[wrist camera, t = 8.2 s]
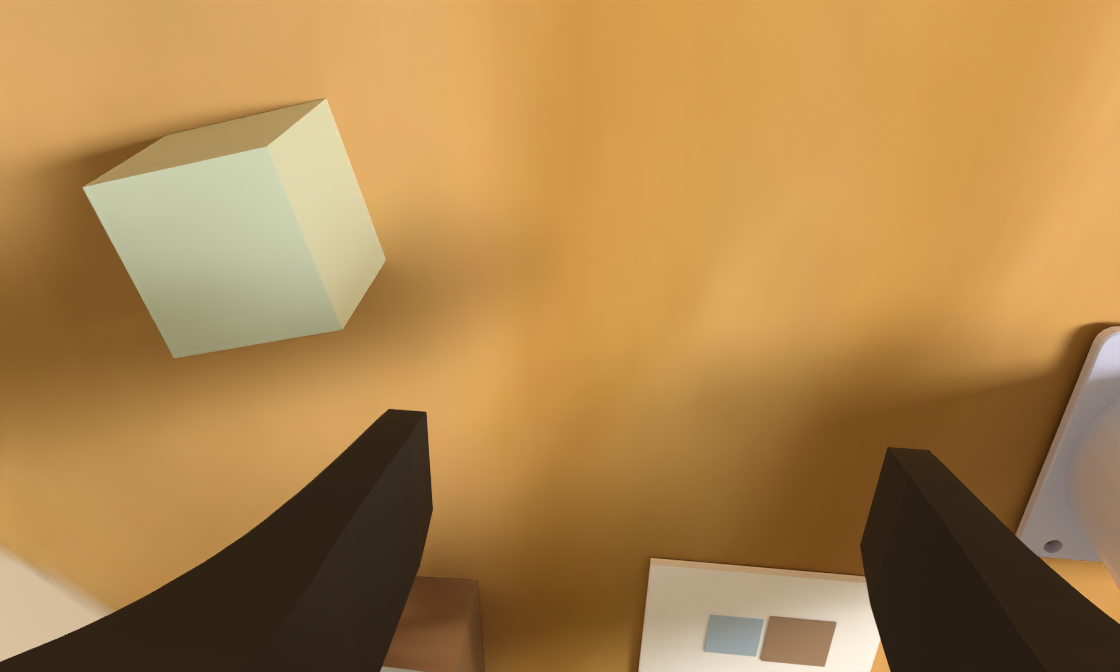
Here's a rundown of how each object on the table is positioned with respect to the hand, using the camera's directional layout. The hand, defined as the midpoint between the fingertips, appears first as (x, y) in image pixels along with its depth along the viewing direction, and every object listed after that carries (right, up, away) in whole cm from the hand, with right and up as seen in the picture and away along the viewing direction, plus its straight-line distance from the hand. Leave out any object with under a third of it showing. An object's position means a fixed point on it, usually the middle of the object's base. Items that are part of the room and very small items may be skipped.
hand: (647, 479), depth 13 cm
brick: (-9, +6, +10) cm, 15 cm away
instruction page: (+6, -8, +16) cm, 19 cm away
